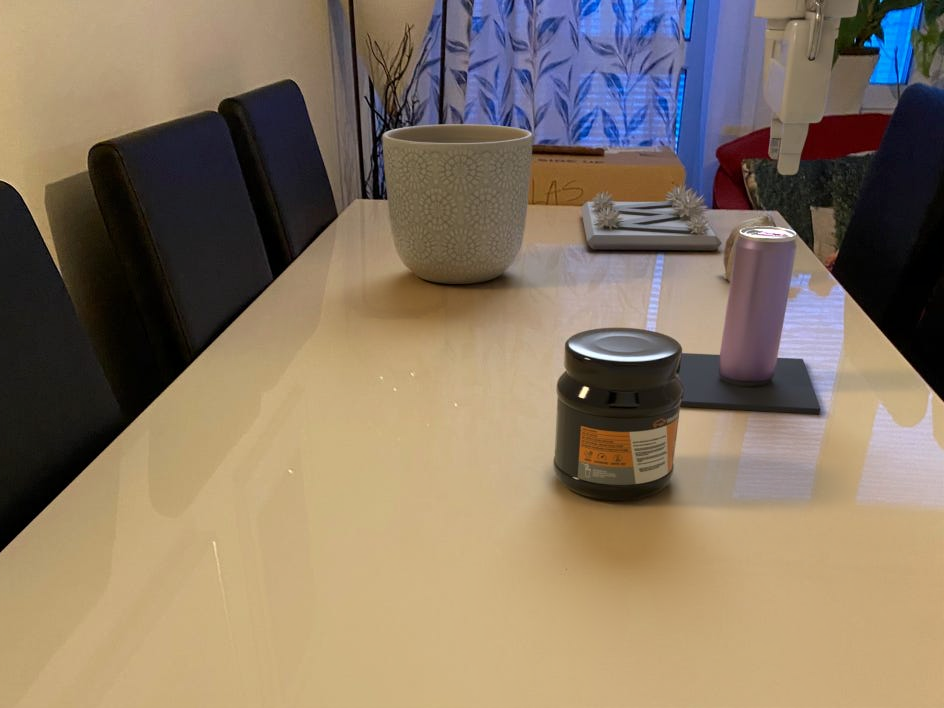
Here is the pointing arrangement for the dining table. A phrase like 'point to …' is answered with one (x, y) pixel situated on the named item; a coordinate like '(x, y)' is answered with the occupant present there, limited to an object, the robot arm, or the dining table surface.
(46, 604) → the dining table surface
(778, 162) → the robot arm
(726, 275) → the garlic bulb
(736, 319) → the beverage can
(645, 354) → the supplement container
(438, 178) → the planter
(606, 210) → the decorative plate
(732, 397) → the mat
